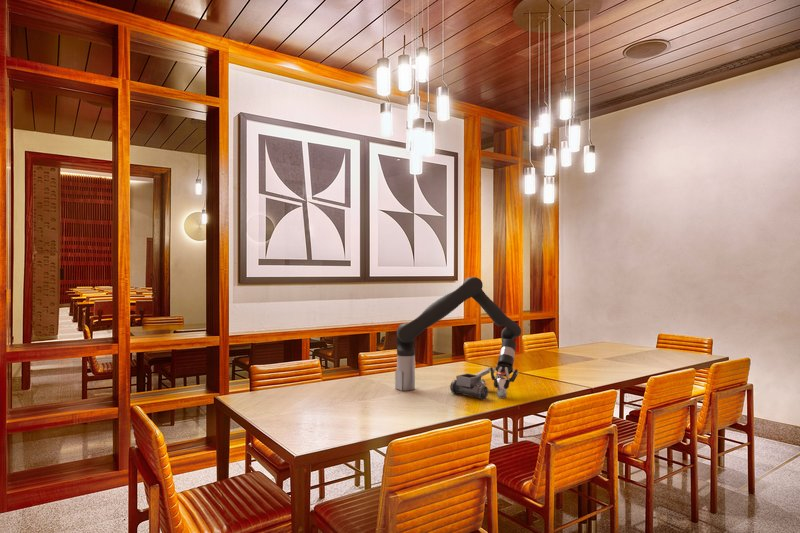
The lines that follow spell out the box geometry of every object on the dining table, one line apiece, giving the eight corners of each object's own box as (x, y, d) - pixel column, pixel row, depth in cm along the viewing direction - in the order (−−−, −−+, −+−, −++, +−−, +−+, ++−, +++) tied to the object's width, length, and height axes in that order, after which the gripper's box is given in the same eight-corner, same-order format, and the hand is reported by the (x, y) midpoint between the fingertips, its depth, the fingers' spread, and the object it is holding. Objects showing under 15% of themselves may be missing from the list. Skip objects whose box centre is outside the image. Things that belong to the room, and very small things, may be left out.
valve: (501, 398, 233) (501, 374, 233) (495, 396, 236) (495, 372, 236) (508, 397, 235) (508, 373, 235) (501, 395, 239) (501, 371, 239)
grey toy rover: (489, 398, 234) (489, 377, 234) (478, 401, 228) (478, 380, 228) (459, 391, 247) (459, 371, 247) (448, 394, 241) (448, 374, 241)
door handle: (461, 401, 250) (496, 384, 246) (453, 387, 251) (488, 369, 247) (465, 392, 267) (497, 376, 263) (457, 379, 268) (490, 362, 264)
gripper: (490, 352, 246) (484, 381, 234) (519, 354, 240) (514, 384, 229) (493, 361, 250) (487, 390, 239) (521, 363, 244) (517, 393, 233)
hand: (500, 387), depth 234 cm, fingers closed on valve, 4 cm apart
